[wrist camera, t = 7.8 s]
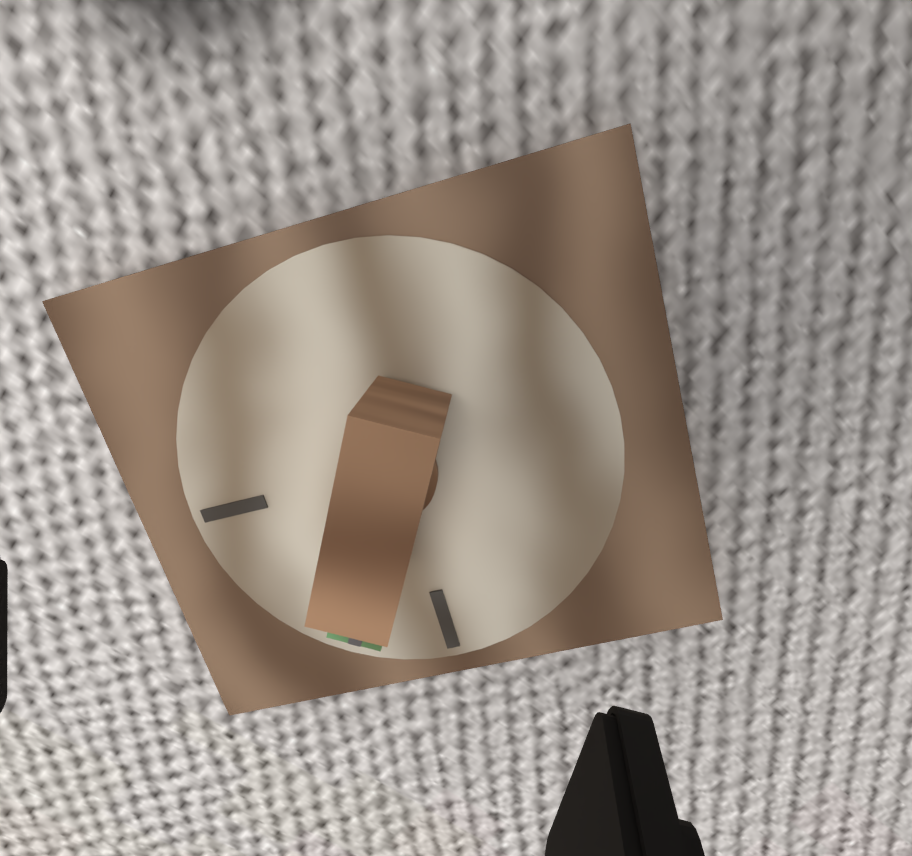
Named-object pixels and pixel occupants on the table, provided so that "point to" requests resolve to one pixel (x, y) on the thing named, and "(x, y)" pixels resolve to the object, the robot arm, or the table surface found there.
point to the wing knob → (376, 509)
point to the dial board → (463, 438)
